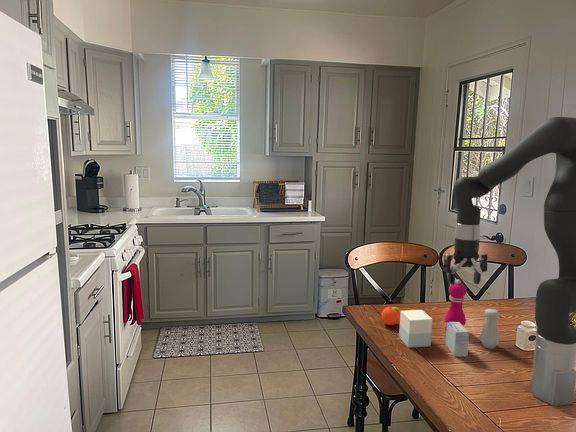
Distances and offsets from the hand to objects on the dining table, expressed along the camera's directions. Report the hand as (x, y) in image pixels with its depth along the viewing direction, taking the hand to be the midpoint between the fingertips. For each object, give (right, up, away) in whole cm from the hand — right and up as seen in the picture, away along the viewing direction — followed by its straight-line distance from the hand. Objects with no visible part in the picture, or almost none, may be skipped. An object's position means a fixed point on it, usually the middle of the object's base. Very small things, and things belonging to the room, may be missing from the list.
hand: (464, 283), depth 136 cm
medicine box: (-3, -23, -1) cm, 23 cm away
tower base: (-15, -21, +6) cm, 27 cm away
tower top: (-15, -16, +5) cm, 23 cm away
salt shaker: (+9, -22, +2) cm, 24 cm away
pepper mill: (+2, -20, +13) cm, 24 cm away
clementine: (-20, -19, +19) cm, 33 cm away
